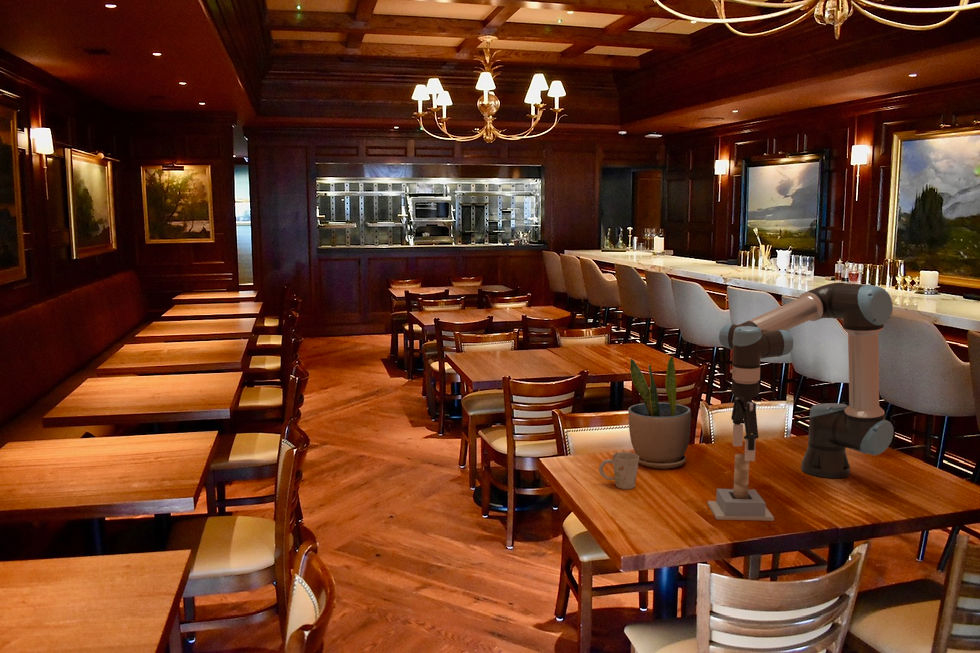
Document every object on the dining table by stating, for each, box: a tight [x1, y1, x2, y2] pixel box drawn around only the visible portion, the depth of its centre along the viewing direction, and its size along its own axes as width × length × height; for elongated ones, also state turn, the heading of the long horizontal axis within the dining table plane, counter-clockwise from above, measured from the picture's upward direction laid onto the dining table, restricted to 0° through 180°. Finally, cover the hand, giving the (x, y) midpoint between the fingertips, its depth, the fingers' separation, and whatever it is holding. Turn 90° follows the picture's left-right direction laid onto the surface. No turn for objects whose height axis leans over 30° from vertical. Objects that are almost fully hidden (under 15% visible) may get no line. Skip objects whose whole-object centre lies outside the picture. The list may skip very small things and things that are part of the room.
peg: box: [733, 453, 750, 499], centre depth 230 cm, size 4×4×16 cm
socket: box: [707, 488, 775, 522], centre depth 231 cm, size 16×12×5 cm
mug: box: [598, 451, 639, 490], centre depth 253 cm, size 8×13×10 cm, turn 78°
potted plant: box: [627, 354, 692, 470], centre depth 274 cm, size 21×22×40 cm
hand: (743, 453), depth 229 cm, fingers open, 13 cm apart
